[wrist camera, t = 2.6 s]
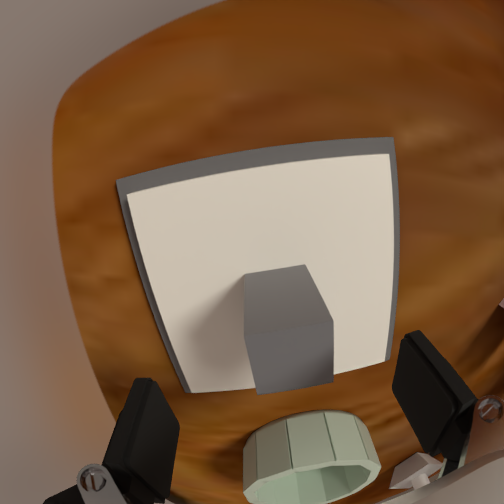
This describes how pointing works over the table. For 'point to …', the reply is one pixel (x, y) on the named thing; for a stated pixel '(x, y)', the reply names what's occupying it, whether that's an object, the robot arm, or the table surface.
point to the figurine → (414, 471)
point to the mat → (249, 161)
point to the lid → (272, 270)
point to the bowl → (308, 459)
